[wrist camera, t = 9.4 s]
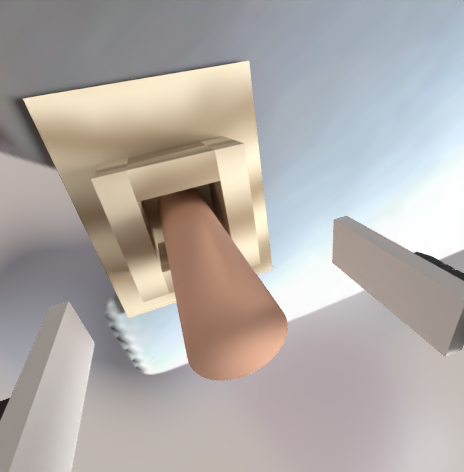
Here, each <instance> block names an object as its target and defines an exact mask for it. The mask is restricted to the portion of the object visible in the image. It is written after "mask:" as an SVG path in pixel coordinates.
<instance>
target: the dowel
mask: <svg viewBox="0 0 464 472" xmlns="http://www.w3.org/2000/svg"><path fill="white" fill-rule="evenodd" d="M158 210H159V215H160V220H161V225H162V230H163V235H164V241H165V246H166V251H167V256H168V261H169V266H170V271H171V276H172V281H173V286H174V292H175V297H176V302H177V307H178V312H179V317H180V322H181V327H182V332H183V337H184V343H185V348H186V353H187V358H188V361H189V364H190V366H191V367H192V369H193V370H194V371H195V372H196V373H197V374H199V375H200V376H202V377H205V378H207V379H211V380H232V379H236V378H240V377H243V376H246V375H248V374H250V373H252V372H254V371H256V370H258V369H259V368H261V367H263V366H264V365H265V364H266V363H268V362H269V361H270V360H271V359H272V358H273V357H274V356H275V355H276V354H277V352H278V351H279V350H280V348H281V347H282V345H283V343H284V341H285V338H286V335H287V319H286V317H285V315H284V313H283V311H282V310H281V309H280V307H279V306H278V304H277V303H276V301H275V300H274V299H273V297H272V296H271V294H270V293H269V291H268V290H267V289H266V287H265V286H264V284H263V283H262V281H261V280H260V279H259V277H258V276H257V274H256V273H255V271H254V270H253V269H252V267H251V266H250V264H249V263H248V262H247V260H246V259H245V257H244V256H243V254H242V253H241V252H240V250H239V249H238V247H237V246H236V244H235V243H234V242H233V240H232V239H231V237H230V236H229V234H228V233H227V232H226V230H225V229H224V227H223V226H222V224H221V223H220V222H219V220H218V219H217V217H216V216H215V214H214V213H213V212H212V210H211V209H210V207H209V206H208V204H207V203H206V202H205V200H204V199H203V197H202V196H201V195H200V193H199V192H198V191H197V190H196V189H195V188H190V189H186V190H182V191H178V192H174V193H170V194H166V195H163V196H161V197H160V199H159V202H158Z"/></svg>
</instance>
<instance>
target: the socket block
mask: <svg viewBox="0 0 464 472" xmlns="http://www.w3.org/2000/svg"><path fill="white" fill-rule="evenodd" d="M23 100H24V102H25V104H26V106H27V108H28V111H29V113H30V115H31V117H32V119H33V121H34V123H35V125H36V127H37V129H38V131H39V133H40V136H41V138H42V140H43V142H44V144H45V146H46V148H47V150H48V152H49V154H50V156H51V158H52V161H53V163H54V165H55V167H56V169H57V171H58V173H59V175H60V177H61V179H62V181H63V183H64V185H65V187H66V190H67V191H68V194H69V196H70V198H71V200H72V202H73V204H74V206H75V208H76V210H77V213H78V214H79V217H80V219H81V221H82V223H83V225H84V227H85V229H86V231H87V233H88V235H89V238H90V240H91V241H92V244H93V246H94V248H95V250H96V252H97V254H98V256H99V258H100V260H101V262H102V265H103V267H104V269H105V271H106V273H107V275H108V277H109V279H110V281H111V283H112V285H113V287H114V289H115V292H116V294H117V296H118V298H119V300H120V302H121V304H122V306H123V308H124V310H125V312H126V315H127V317H128V318H131V317H134V316H136V315H139V314H142V313H145V312H148V311H151V310H154V309H157V308H160V307H163V306H166V305H169V304H172V303H175V302H176V297H175V292H174V286H173V281H172V276H171V271H170V266H169V261H168V256H167V251H166V246H165V241H164V235H163V230H162V225H161V220H160V215H159V210H158V202H159V199H160V197H161V196H163V195H166V194H170V193H174V192H178V191H182V190H186V189H190V188H195V189H196V190H197V191H198V192H199V193H200V195H201V196H202V197H203V199H204V200H205V202H206V203H207V204H208V206H209V207H210V209H211V210H212V212H213V213H214V214H215V216H216V217H217V219H218V220H219V222H220V223H221V224H222V226H223V227H224V229H225V230H226V232H227V233H228V234H229V236H230V237H231V239H232V240H233V242H234V243H235V244H236V246H237V247H238V249H239V250H240V252H241V253H242V254H243V256H244V257H245V259H246V260H247V262H248V263H249V264H250V266H251V267H252V269H253V270H254V271H255V273H256V274H260V273H263V272H266V271H269V270H272V262H271V253H270V244H269V235H268V226H267V217H266V208H265V199H264V190H263V181H262V172H261V164H260V155H259V146H258V137H257V128H256V119H255V110H254V101H253V92H252V83H251V74H250V66H249V61H245V62H239V63H233V64H227V65H221V66H215V67H209V68H203V69H197V70H191V71H185V72H179V73H173V74H167V75H161V76H155V77H149V78H143V79H137V80H131V81H125V82H119V83H113V84H107V85H101V86H95V87H89V88H83V89H77V90H71V91H65V92H59V93H53V94H47V95H41V96H35V97H29V98H23Z"/></svg>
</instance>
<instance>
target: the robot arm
mask: <svg viewBox="0 0 464 472" xmlns="http://www.w3.org/2000/svg"><path fill="white" fill-rule="evenodd" d="M332 262H333V263H334V264H335V265H336V266H337V267H338V268H340V269H341V270H342V271H343V272H344V273H346V274H347V275H348V276H349V277H350V278H352V279H353V280H354V281H355V282H356V283H358V284H359V285H360V286H361V287H362V288H364V289H365V290H366V291H367V292H368V293H370V294H371V295H372V296H373V297H375V298H376V299H377V300H378V301H379V302H380V303H382V304H383V305H384V306H385V307H386V308H388V309H389V310H390V311H391V312H392V313H394V314H395V315H396V316H397V317H398V318H399V319H401V320H402V321H403V322H404V323H405V324H407V325H408V326H409V327H410V328H411V329H413V330H414V331H415V332H416V333H417V334H419V335H420V336H421V337H422V338H424V339H425V340H426V341H427V342H428V343H429V344H430V345H432V346H433V347H434V348H435V349H436V350H438V351H439V352H440V353H441V354H443V355H444V356H445V357H446V356H448V355H451V354H453V353H455V352H457V351H459V350H461V349H462V348H463V345H464V273H462V272H460V271H458V270H455V269H454V268H452V267H451V266H448V265H445V264H444V263H443V262H441V261H439V260H437V259H436V258H434V257H432V256H429V255H425V254H422V253H419V252H416V253H412V252H411V251H409V250H407V249H405V248H403V247H402V246H400V245H398V244H396V243H394V242H393V241H391V240H389V239H387V238H385V237H384V236H382V235H380V234H378V233H376V232H375V231H373V230H371V229H369V228H367V227H366V226H364V225H362V224H360V223H358V222H357V221H355V220H353V219H351V218H349V217H348V216H344V217H341V218H338V219H334V228H333V259H332ZM94 344H95V343H94V341H93V340H92V338H91V337H90V335H89V333H88V332H87V330H86V329H85V327H84V325H83V324H82V322H81V320H80V319H79V317H78V315H77V314H76V312H75V311H74V309H73V307H72V306H71V304H70V302H69V301H67V302H64V303H60V304H57V305H54V306H51V307H49V309H48V312H47V314H46V316H45V319H44V321H43V323H42V326H41V328H40V330H39V333H38V335H37V337H36V340H35V342H34V344H33V346H32V349H31V351H30V353H29V356H28V358H27V360H26V362H25V365H24V367H23V370H22V372H21V374H20V376H19V379H18V381H17V383H16V386H15V388H14V390H13V393H12V395H11V397H10V398H8V399H6V400H3V401H0V472H71V470H72V465H73V459H74V454H75V448H76V443H77V437H78V432H79V426H80V421H81V415H82V410H83V404H84V399H85V394H86V388H87V382H88V377H89V372H90V366H91V361H92V355H93V350H94Z"/></svg>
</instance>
